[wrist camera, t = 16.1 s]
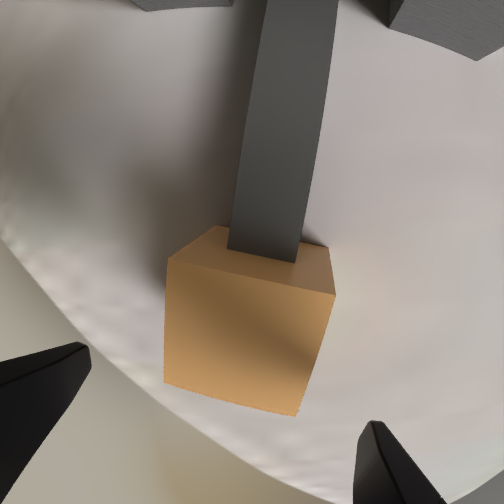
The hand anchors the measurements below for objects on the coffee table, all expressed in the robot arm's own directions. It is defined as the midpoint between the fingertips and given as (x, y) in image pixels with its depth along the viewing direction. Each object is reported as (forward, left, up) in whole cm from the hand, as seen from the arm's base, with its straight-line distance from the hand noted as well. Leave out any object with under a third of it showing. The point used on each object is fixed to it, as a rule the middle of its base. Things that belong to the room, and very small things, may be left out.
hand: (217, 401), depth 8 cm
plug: (-9, 0, -7) cm, 12 cm away
